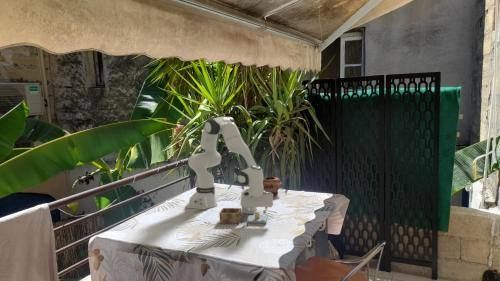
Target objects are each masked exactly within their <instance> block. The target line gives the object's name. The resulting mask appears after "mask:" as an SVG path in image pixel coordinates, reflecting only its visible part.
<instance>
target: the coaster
mask: <svg viewBox="0 0 500 281" xmlns="http://www.w3.org/2000/svg"><path fill="white" fill-rule="evenodd" d="M266 225H267V222H266V223H264V224H257V223H248V222H247V226H266Z"/></svg>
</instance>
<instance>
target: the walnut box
mask: <svg viewBox="0 0 500 281" xmlns="http://www.w3.org/2000/svg"><path fill="white" fill-rule="evenodd" d="M218 214H219V224H220V225H240V223H241V220H242V219H243V217H242V215H243V213H242V207H241V208H240V207H237V208H236V207H223V208H222V209H221V210H220V211H219V213H218Z"/></svg>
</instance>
